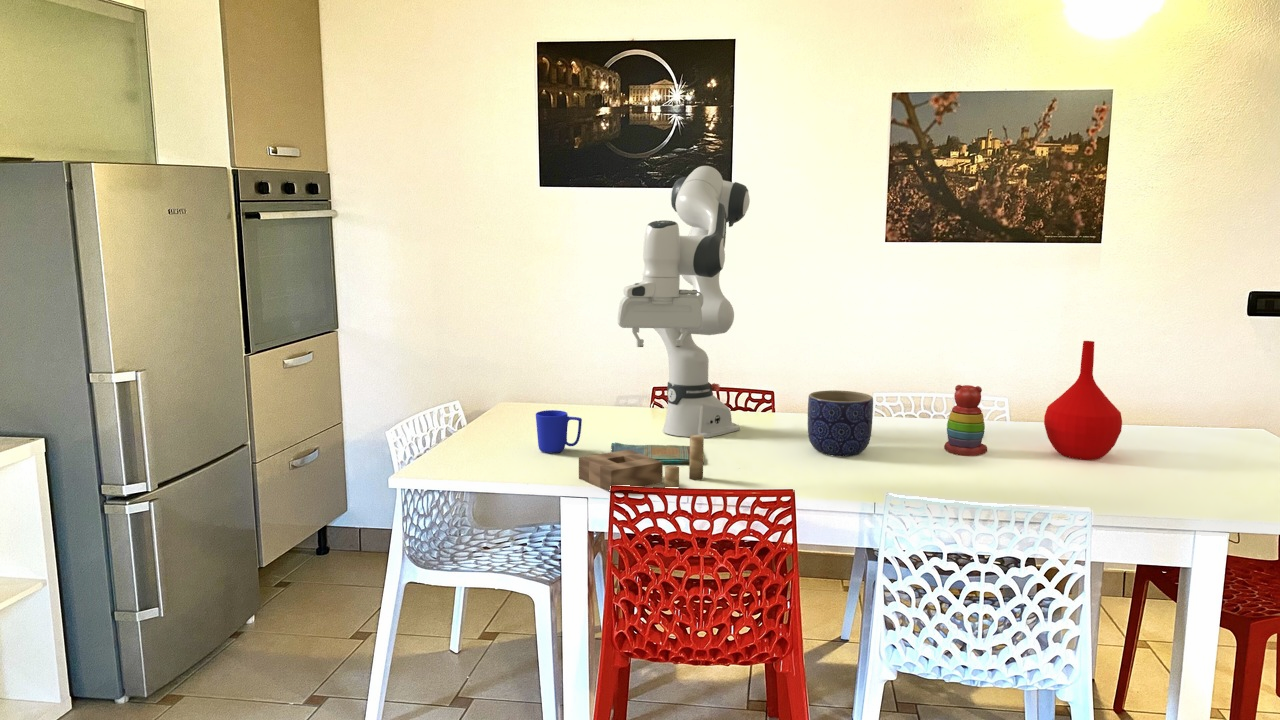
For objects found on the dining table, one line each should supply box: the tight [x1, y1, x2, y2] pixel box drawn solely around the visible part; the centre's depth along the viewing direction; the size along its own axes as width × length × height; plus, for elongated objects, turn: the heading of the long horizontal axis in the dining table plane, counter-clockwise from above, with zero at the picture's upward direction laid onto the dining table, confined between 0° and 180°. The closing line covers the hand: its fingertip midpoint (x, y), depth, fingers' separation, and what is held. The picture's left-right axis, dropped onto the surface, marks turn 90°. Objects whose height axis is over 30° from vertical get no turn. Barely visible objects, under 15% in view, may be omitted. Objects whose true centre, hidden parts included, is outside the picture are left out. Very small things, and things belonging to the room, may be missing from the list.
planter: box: [807, 389, 874, 457], centre depth 253 cm, size 17×16×15 cm
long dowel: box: [688, 435, 705, 481], centre depth 227 cm, size 3×3×10 cm
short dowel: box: [664, 465, 680, 488], centre depth 219 cm, size 3×3×5 cm
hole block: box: [578, 450, 664, 492], centre depth 225 cm, size 14×14×5 cm
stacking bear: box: [943, 384, 988, 457], centre depth 254 cm, size 11×10×18 cm
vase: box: [1043, 340, 1123, 461], centre depth 250 cm, size 18×18×30 cm
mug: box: [535, 409, 583, 454], centre depth 252 cm, size 8×12×10 cm
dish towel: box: [610, 442, 704, 466], centre depth 248 cm, size 17×23×2 cm
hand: (659, 347), depth 233 cm, fingers open, 8 cm apart
